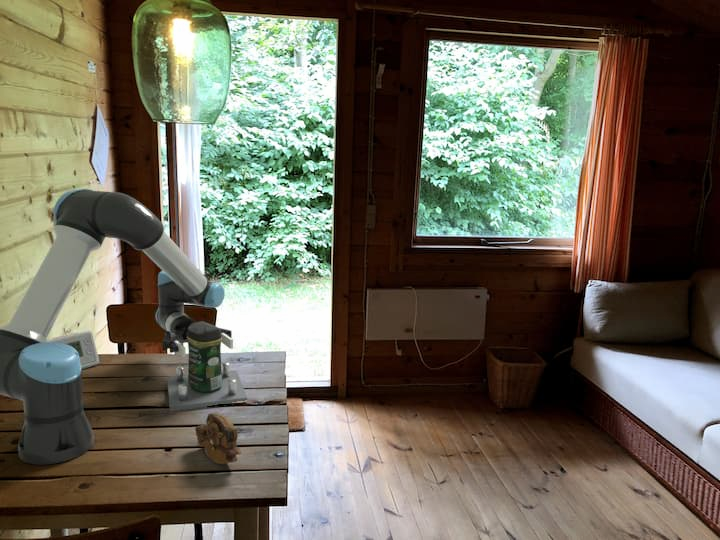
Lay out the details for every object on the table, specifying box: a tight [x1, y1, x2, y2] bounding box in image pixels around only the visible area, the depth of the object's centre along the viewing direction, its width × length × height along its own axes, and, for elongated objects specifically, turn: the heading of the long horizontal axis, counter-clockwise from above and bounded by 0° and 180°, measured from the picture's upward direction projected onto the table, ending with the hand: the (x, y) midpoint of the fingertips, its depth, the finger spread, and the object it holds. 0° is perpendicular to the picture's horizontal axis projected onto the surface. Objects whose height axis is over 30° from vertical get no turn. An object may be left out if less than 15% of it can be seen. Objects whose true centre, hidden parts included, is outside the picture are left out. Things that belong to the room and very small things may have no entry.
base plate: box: [166, 361, 248, 412], centre depth 161 cm, size 20×20×6 cm
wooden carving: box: [194, 412, 242, 465], centre depth 127 cm, size 16×5×10 cm, turn 48°
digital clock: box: [47, 330, 100, 371], centre depth 173 cm, size 16×9×11 cm, turn 131°
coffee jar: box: [187, 320, 222, 393], centre depth 160 cm, size 10×8×19 cm
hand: (208, 348), depth 157 cm, fingers open, 13 cm apart
